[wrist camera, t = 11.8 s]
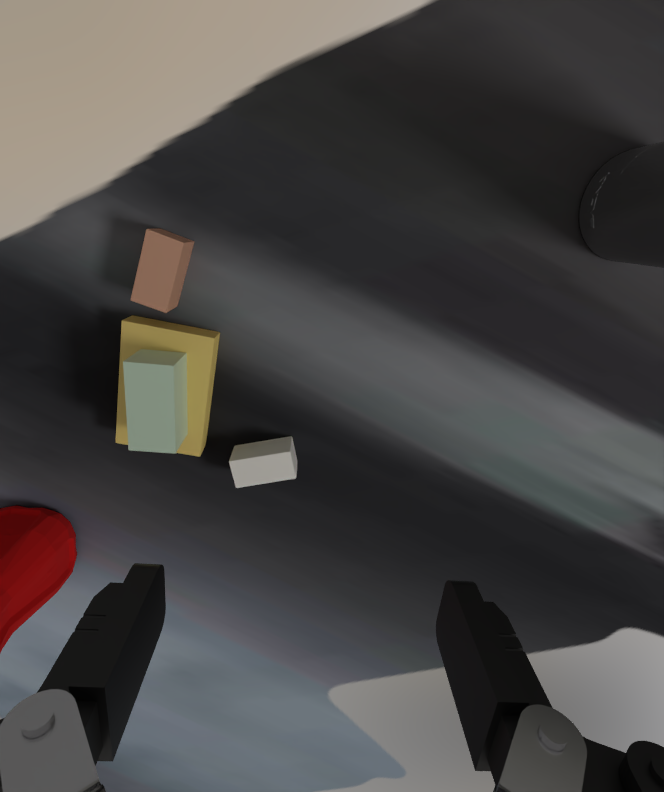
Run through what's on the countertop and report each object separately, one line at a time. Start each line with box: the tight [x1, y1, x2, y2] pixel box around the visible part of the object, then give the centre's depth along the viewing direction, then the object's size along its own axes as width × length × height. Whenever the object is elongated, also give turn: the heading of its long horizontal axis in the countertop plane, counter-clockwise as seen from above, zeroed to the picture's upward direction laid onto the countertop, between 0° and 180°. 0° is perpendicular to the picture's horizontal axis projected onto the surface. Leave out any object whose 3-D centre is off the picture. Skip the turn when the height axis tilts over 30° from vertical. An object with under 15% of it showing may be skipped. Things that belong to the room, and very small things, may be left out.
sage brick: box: [123, 349, 188, 453], centre depth 40 cm, size 4×8×4 cm, turn 174°
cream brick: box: [229, 436, 297, 488], centre depth 46 cm, size 6×3×4 cm, turn 99°
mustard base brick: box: [116, 315, 220, 457], centre depth 43 cm, size 8×12×3 cm, turn 168°
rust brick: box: [131, 228, 194, 313], centre depth 39 cm, size 6×3×4 cm, turn 159°
